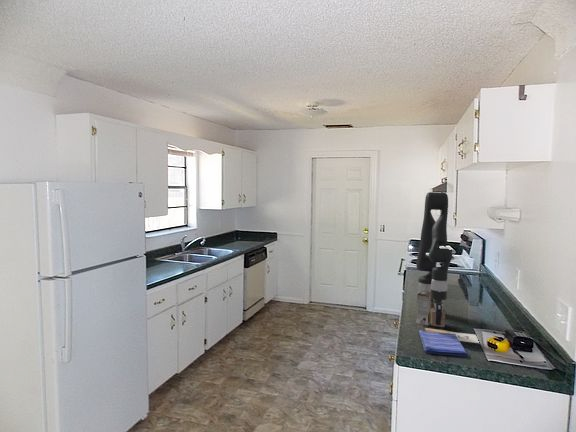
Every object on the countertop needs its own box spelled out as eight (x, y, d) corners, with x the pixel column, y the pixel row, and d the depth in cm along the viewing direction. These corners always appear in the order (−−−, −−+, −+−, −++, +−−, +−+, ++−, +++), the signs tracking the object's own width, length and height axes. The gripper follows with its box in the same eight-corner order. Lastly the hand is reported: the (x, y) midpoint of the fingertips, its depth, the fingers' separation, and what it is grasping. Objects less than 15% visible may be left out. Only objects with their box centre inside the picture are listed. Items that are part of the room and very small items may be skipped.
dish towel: (425, 354, 165) (425, 347, 165) (418, 333, 188) (418, 327, 188) (468, 358, 162) (468, 351, 161) (455, 336, 185) (456, 331, 185)
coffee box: (422, 319, 213) (423, 290, 212) (434, 322, 209) (435, 292, 208) (415, 323, 206) (417, 293, 205) (428, 326, 202) (429, 295, 201)
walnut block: (430, 322, 194) (431, 308, 194) (443, 323, 192) (444, 309, 192) (431, 325, 188) (431, 311, 188) (444, 327, 186) (445, 312, 186)
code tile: (449, 331, 194) (449, 331, 194) (475, 335, 190) (475, 334, 190) (451, 340, 182) (451, 339, 182) (479, 343, 179) (479, 343, 178)
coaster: (424, 329, 197) (424, 327, 197) (448, 331, 194) (448, 330, 194) (425, 335, 187) (425, 334, 187) (450, 338, 184) (450, 337, 184)
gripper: (430, 285, 197) (428, 317, 198) (431, 291, 184) (430, 326, 184) (445, 286, 195) (444, 319, 196) (448, 292, 182) (447, 328, 182)
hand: (437, 322), depth 190 cm, fingers closed on walnut block, 6 cm apart
